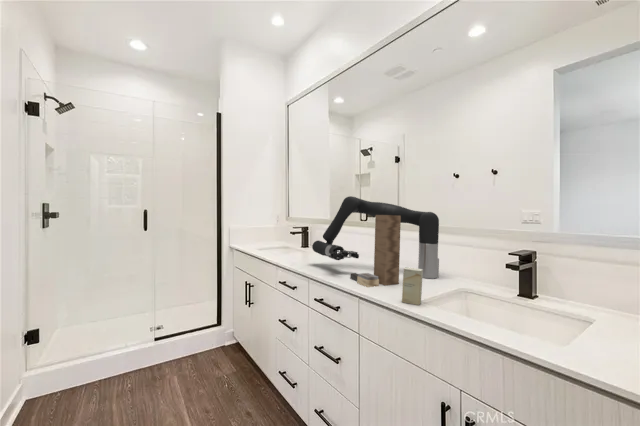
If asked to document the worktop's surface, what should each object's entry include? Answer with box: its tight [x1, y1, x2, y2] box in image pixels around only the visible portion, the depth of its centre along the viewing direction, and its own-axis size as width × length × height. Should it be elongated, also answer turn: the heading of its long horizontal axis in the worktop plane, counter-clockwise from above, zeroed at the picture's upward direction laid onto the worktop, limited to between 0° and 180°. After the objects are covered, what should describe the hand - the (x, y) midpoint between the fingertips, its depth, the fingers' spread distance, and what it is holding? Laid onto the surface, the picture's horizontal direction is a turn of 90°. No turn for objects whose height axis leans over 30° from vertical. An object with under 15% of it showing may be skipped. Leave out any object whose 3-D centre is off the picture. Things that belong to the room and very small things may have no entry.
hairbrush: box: [349, 272, 380, 288], centre depth 133 cm, size 6×16×4 cm, turn 25°
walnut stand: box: [373, 215, 402, 287], centre depth 133 cm, size 8×8×31 cm
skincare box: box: [401, 266, 423, 306], centre depth 105 cm, size 6×4×12 cm
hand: (350, 256), depth 142 cm, fingers open, 8 cm apart
